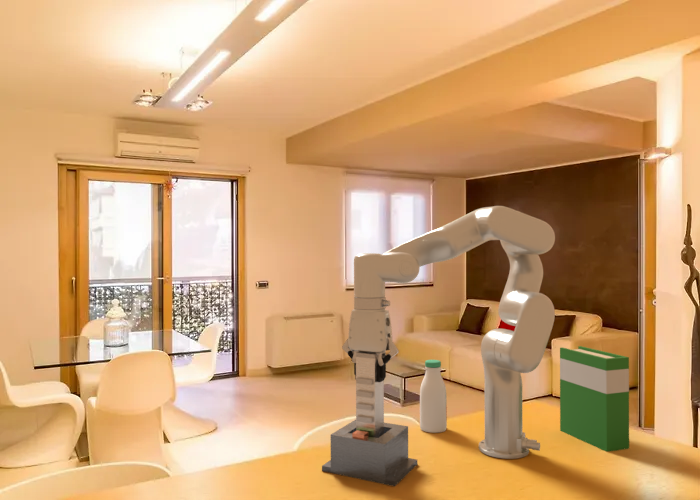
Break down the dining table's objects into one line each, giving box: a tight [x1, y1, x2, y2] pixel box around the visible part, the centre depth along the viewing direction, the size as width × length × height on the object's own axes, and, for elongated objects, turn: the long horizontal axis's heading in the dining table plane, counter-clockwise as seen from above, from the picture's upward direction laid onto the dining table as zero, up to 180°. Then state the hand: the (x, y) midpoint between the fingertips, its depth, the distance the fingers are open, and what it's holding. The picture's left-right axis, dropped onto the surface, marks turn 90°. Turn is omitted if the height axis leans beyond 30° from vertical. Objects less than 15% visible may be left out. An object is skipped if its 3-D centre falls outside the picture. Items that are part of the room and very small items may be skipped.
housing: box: [321, 419, 418, 487], centre depth 133 cm, size 19×14×10 cm
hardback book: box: [559, 345, 630, 453], centre depth 153 cm, size 18×7×24 cm, turn 19°
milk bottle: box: [419, 359, 448, 434], centre depth 162 cm, size 8×8×20 cm
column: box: [355, 351, 385, 438], centre depth 133 cm, size 5×6×22 cm
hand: (369, 379), depth 133 cm, fingers closed on column, 5 cm apart
